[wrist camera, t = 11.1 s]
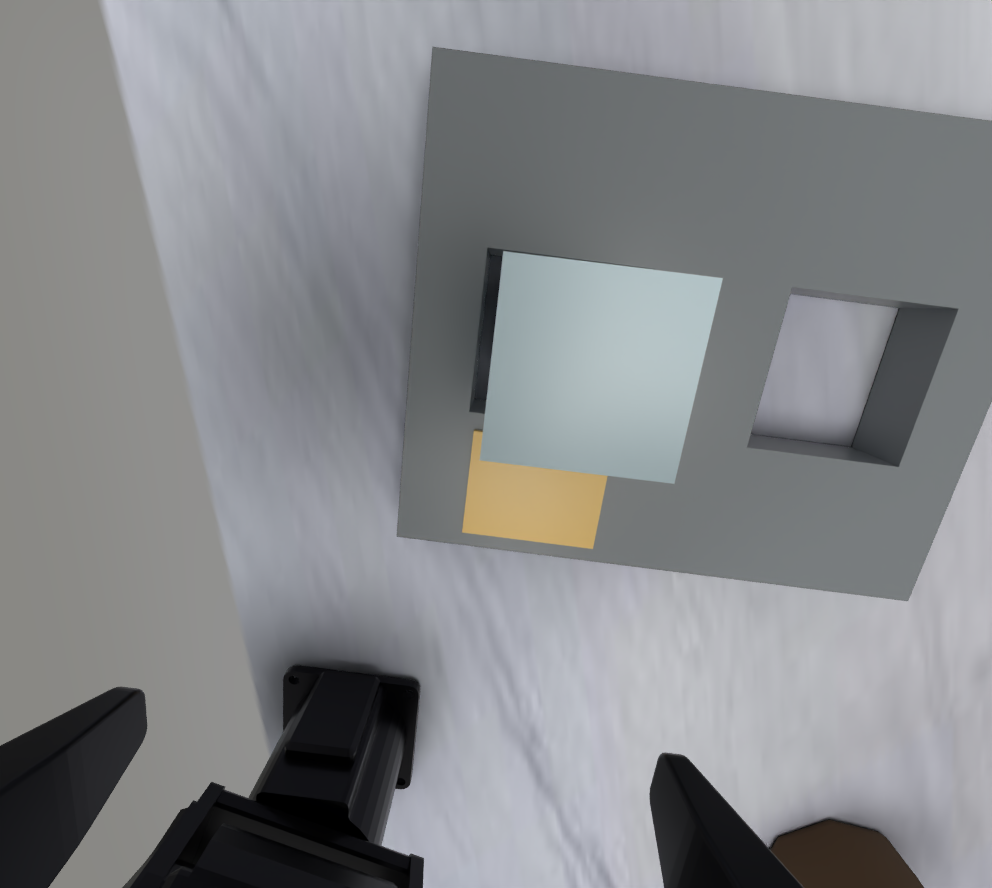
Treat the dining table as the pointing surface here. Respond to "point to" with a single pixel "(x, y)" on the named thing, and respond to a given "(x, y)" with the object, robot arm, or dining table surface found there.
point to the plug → (595, 366)
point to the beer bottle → (843, 858)
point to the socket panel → (737, 320)
